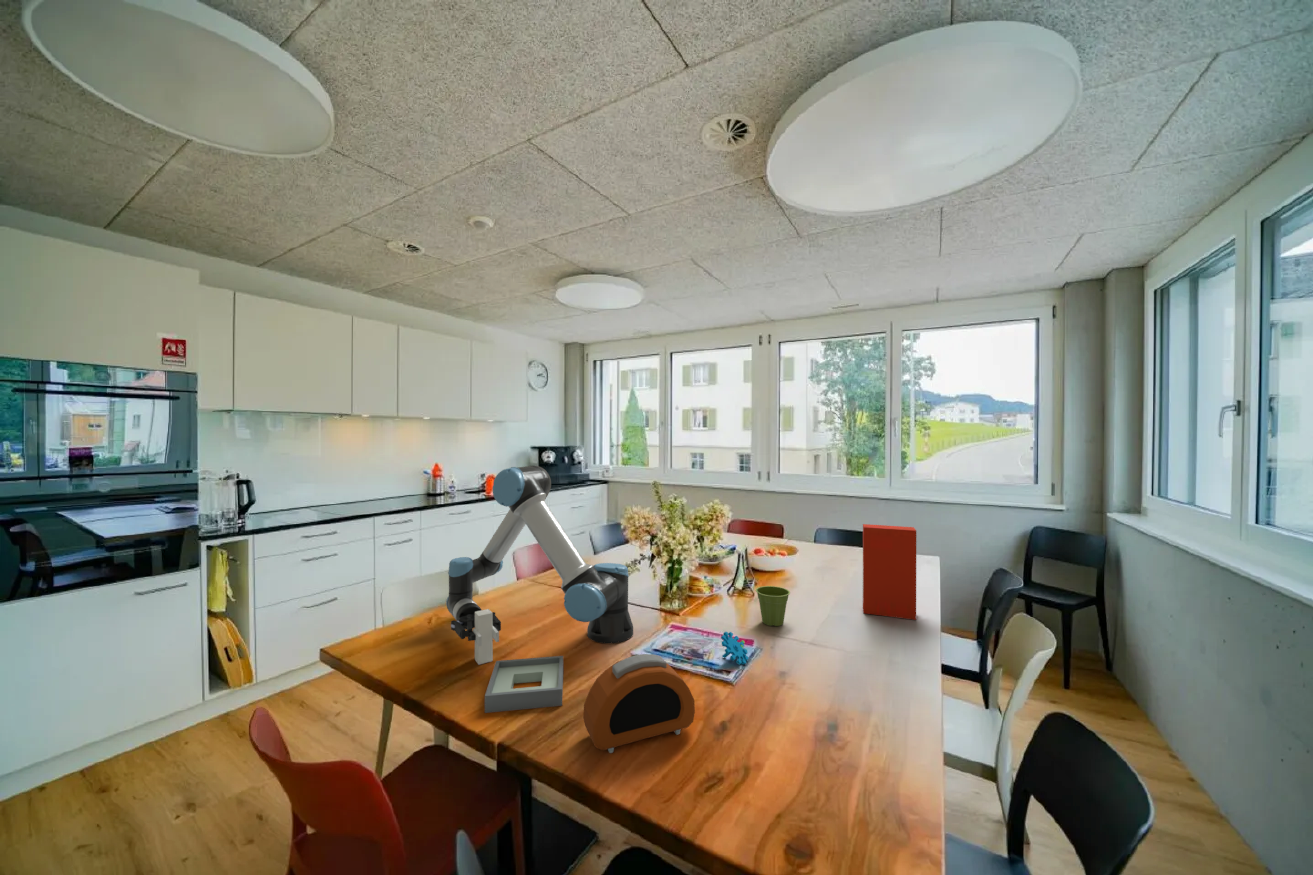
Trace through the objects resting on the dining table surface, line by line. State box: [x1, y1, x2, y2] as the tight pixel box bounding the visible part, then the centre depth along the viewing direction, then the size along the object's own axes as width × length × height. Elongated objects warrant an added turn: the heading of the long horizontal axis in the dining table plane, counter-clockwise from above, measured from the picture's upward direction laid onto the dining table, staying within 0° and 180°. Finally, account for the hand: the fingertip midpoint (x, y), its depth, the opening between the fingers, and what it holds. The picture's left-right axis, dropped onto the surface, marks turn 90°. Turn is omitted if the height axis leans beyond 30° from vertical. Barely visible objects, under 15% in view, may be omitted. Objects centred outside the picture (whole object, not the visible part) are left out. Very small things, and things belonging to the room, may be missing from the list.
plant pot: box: [755, 585, 791, 627], centre depth 169 cm, size 12×12×11 cm
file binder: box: [862, 523, 917, 621], centre depth 178 cm, size 8×17×32 cm, turn 69°
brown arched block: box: [582, 653, 696, 754], centre depth 106 cm, size 23×9×17 cm, turn 114°
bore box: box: [484, 655, 564, 714], centre depth 124 cm, size 18×18×4 cm
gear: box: [720, 631, 749, 666], centre depth 142 cm, size 11×6×10 cm
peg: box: [474, 608, 494, 665], centre depth 140 cm, size 4×4×14 cm
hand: (488, 639), depth 136 cm, fingers open, 4 cm apart
